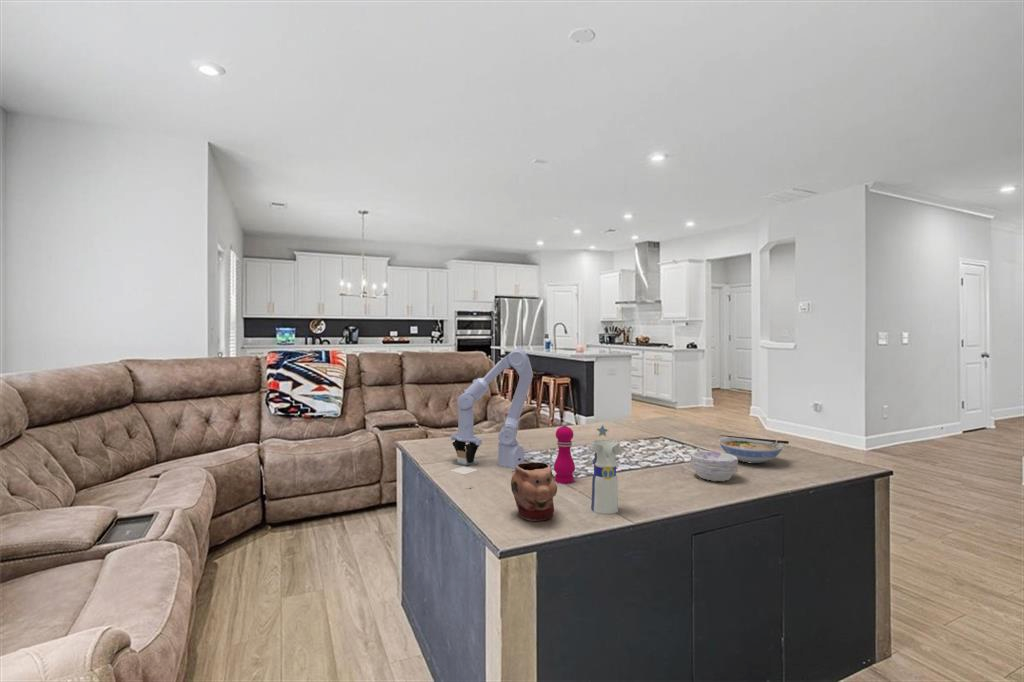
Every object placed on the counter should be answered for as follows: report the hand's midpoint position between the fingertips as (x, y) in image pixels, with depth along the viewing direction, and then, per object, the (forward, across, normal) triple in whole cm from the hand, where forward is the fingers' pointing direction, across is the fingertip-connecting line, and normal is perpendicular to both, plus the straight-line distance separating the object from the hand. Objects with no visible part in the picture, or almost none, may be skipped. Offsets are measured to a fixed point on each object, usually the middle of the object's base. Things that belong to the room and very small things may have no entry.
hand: (465, 461), depth 187 cm
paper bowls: (+2, +76, +45) cm, 88 cm away
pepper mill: (+2, +38, +9) cm, 39 cm away
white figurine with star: (+2, +62, -6) cm, 62 cm away
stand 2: (+2, +6, -7) cm, 9 cm away
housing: (+1, 0, 0) cm, 1 cm away
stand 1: (+2, 0, 0) cm, 2 cm away
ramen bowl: (+2, +80, +76) cm, 110 cm away
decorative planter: (+2, +48, -22) cm, 53 cm away
